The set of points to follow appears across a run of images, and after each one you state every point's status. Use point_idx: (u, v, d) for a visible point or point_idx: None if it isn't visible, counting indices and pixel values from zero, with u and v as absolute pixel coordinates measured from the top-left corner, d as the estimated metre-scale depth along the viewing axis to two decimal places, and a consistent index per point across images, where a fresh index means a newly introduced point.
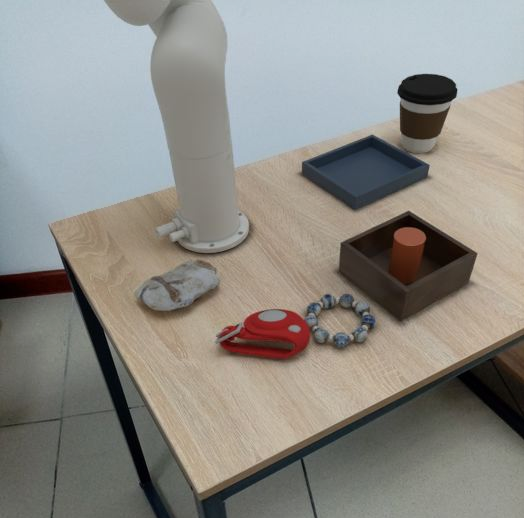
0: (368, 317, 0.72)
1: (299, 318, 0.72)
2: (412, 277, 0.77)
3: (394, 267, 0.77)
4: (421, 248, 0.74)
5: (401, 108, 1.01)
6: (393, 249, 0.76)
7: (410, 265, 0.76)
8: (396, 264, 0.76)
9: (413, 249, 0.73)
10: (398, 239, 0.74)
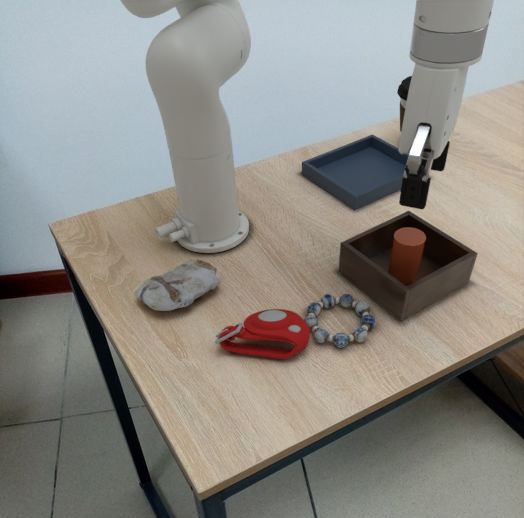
0: (368, 317, 0.72)
1: (299, 318, 0.72)
2: (412, 277, 0.77)
3: (394, 267, 0.77)
4: (421, 248, 0.74)
5: (401, 108, 1.01)
6: (393, 249, 0.76)
7: (410, 265, 0.76)
8: (396, 264, 0.76)
9: (413, 249, 0.73)
10: (398, 239, 0.74)
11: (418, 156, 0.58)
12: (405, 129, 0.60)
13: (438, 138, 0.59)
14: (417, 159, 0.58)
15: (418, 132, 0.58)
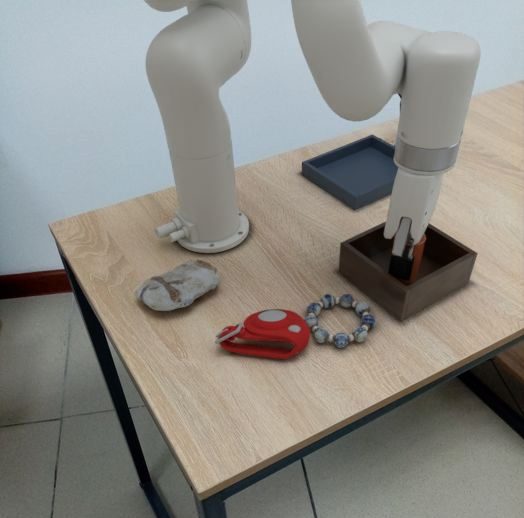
0: (368, 317, 0.72)
1: (299, 318, 0.72)
2: (412, 277, 0.77)
3: None
4: (421, 248, 0.74)
5: None
6: None
7: None
8: None
9: None
10: None
11: (400, 253, 0.69)
12: (389, 219, 0.68)
13: (417, 229, 0.68)
14: (400, 255, 0.69)
15: (400, 229, 0.68)
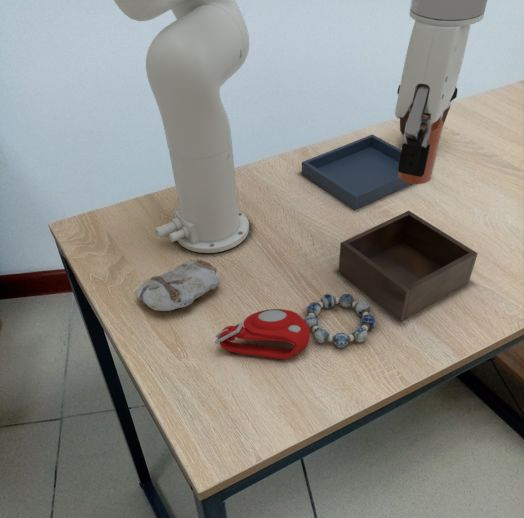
0: (368, 317, 0.72)
1: (299, 318, 0.72)
2: (426, 174, 0.67)
3: None
4: (438, 136, 0.64)
5: None
6: None
7: None
8: None
9: None
10: None
11: (415, 131, 0.58)
12: (402, 90, 0.58)
13: (436, 101, 0.57)
14: (414, 134, 0.58)
15: (415, 101, 0.58)
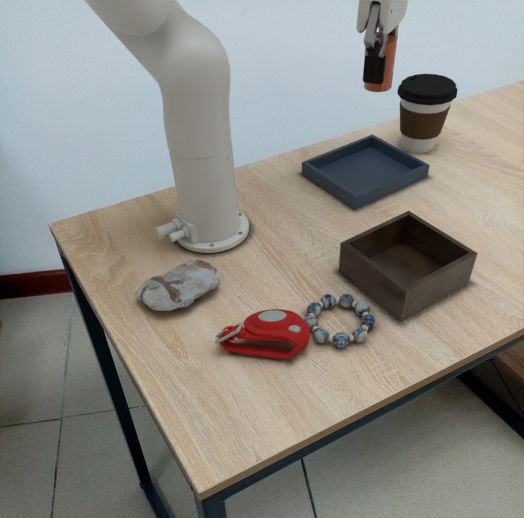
0: (368, 317, 0.72)
1: (299, 318, 0.72)
2: (385, 83, 0.83)
3: None
4: (393, 49, 0.80)
5: (401, 108, 1.01)
6: None
7: None
8: None
9: (385, 48, 0.79)
10: None
11: (371, 39, 0.75)
12: (360, 7, 0.74)
13: (386, 14, 0.74)
14: (370, 42, 0.75)
15: (370, 16, 0.74)
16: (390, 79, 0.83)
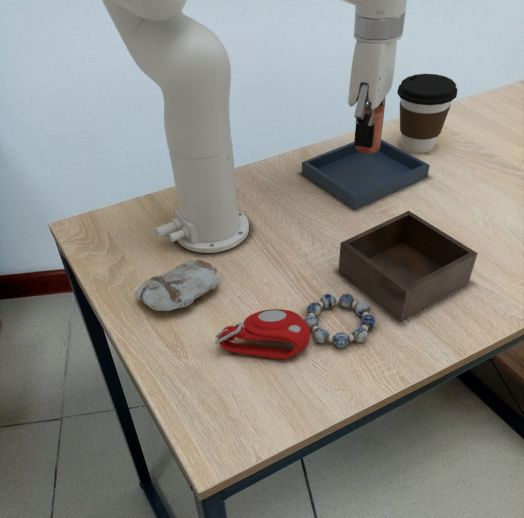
0: (368, 317, 0.72)
1: (299, 318, 0.72)
2: (374, 146, 0.94)
3: None
4: (380, 118, 0.91)
5: (401, 108, 1.01)
6: None
7: None
8: None
9: (374, 118, 0.90)
10: None
11: (361, 114, 0.85)
12: (351, 87, 0.85)
13: (374, 93, 0.84)
14: (360, 116, 0.85)
15: (360, 94, 0.85)
16: (379, 142, 0.94)
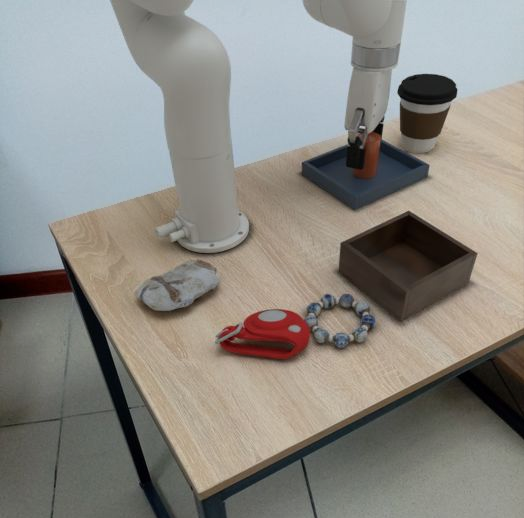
0: (368, 317, 0.72)
1: (299, 318, 0.72)
2: (371, 172, 0.98)
3: None
4: (377, 146, 0.94)
5: (401, 108, 1.01)
6: None
7: (369, 161, 0.96)
8: None
9: (371, 146, 0.94)
10: None
11: (354, 130, 0.86)
12: (348, 111, 0.88)
13: (369, 118, 0.87)
14: (354, 132, 0.86)
15: (355, 114, 0.87)
16: (375, 168, 0.98)
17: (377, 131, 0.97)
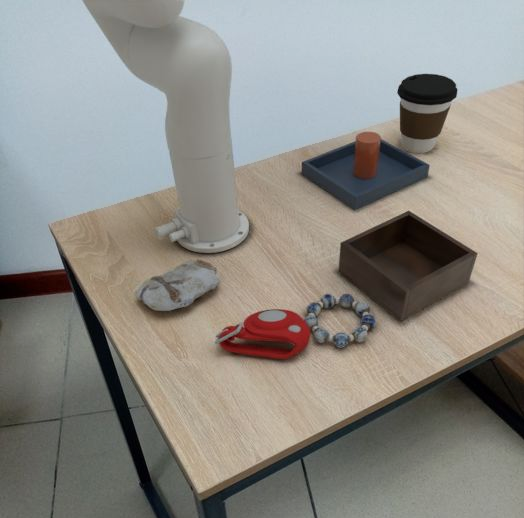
0: (368, 317, 0.72)
1: (299, 318, 0.72)
2: (371, 172, 0.98)
3: (357, 164, 0.97)
4: (377, 146, 0.94)
5: (401, 108, 1.01)
6: (356, 148, 0.96)
7: (369, 161, 0.96)
8: (358, 161, 0.97)
9: (371, 146, 0.94)
10: (359, 139, 0.94)
11: None
12: None
13: None
14: None
15: None
16: (375, 168, 0.98)
17: None
